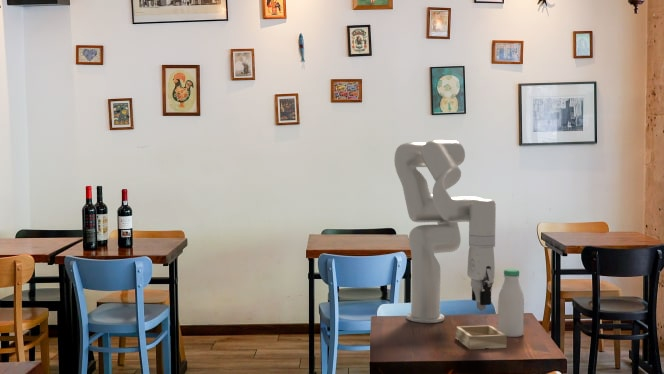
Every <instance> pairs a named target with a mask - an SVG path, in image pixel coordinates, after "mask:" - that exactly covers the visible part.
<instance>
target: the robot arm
mask: <svg viewBox="0 0 664 374" xmlns="http://www.w3.org/2000/svg"><path fill="white" fill-rule="evenodd" d="M465 158H466V152H465V148H464V147H463V145H462V144H461V142H459V141H457V140H453V139H452V140H450V139H449V140H448V139H447V140H445V139H435V140H433V139H432V140H429V141H426V142H425V141H424V142H423V141H416V142H415V141H414V142H405V143H402V144H400V145H398V146H397V148H396V150H395V152H394V167H395V171H396V172H395V173H396V174H397V177H398V179H399V181H400V183H401V186H402V191H403V194H404V199H405V204H406V205H405V206H406V209H407V213H408V218H409V219H410V220H411V221H412V222H414V223H437V224H421V225H417V226H414V227H413V228H412V229H411V230H410V232H409V235H408V243H409V248H410V254H411V255H410V256H411V300H410V301H411V306H410V307H411V309H410V310H411V311H410V312H408V313H407V314H406V319H407V320H408V321H411V322H414V323H421V324H433V323H434V324H436V323H441V322H444V320H445V315H444V314H442V313H441V264H440V262H439V261H438V259H437V258H436V255H435V254H441V253H452V252H455V251H457V250H458V249H459V248H460V245H461V241H462V240H461V233H460V228H459V227H460V226H459V223H461V222H463V223H469V224H468V246H469V249H468V257H467V269H466V270H467V272H466V273H467V276H468V278H470V279H471V280H472V279H474V280H476V281H480V282H481V291H480V305H486V306H490V305H492V291H493V286H494V285H493V284H494V283H495V281H494V280H495V270H496V269H495V268H496V267H495V252H494V248H495V247H496V208H497V207H496V201H495V200H493V199H491V198H482V197H479V196H450V194H449V193H448V189H450V188H451V187H454V186H455V185H456V184H457V183H458V182H459V181H460V179H461V177H462V171H461V169H460V168H459V166H460V165H462V163H463V162H464V161H465ZM417 168H427V169H428V171H429V173H430V174H431V176H432V178H433V180H434V185H433V187H432V193H431V192H430V188H429V185H428V182H427V179H426V178H425V176H424V175H423V174H422V173H421V172H420V171H419V169H417ZM486 278H487V280H483V279H486ZM471 280H470V281H471ZM484 283H486V284H485V286H484ZM471 300H472V301H473V302H477V301H476V297H475V293H474V291H473V289H472V288H471Z"/></svg>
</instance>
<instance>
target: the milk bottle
mask: <svg viewBox="0 0 664 374" xmlns="http://www.w3.org/2000/svg"><path fill="white" fill-rule="evenodd" d="M503 277H504V280H503V283H502V286H501V288H500V291H499V293H498V301H497V302H498V303H497V305H498V306H497V330H499V331H500V332H502V333H504V334H505V335H507V338H508V337H509V338H510V337H511V338H517V337H521V336H523V335H524V321H525V319H524V317H525V313H524V312H525V302H524V301H525V299H524V298H525V296H524V293H523V290H522V288H521V285H520V282H519V281H520V280H519V278H520V270H518V269H514V268H513V269H512V268H507V269H504V270H503Z"/></svg>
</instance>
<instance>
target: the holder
mask: <svg viewBox="0 0 664 374" xmlns="http://www.w3.org/2000/svg"><path fill="white" fill-rule="evenodd" d="M507 338H508V336H507V335H505V334H504V333H502V332H500V331H499V330H498V328H496V327H494V326H493V325H491V324H490V325H489V324H487V325H486V324H485V325H484V324H483V325H463V326H455V339H456V340H457V341H458V340H459V342H460V343H461V344H462V345H464V347H466V348H467V349H469V350H483V349H484V350H485V348H489V349H505V348H507Z"/></svg>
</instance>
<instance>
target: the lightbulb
mask: <svg viewBox="0 0 664 374" xmlns="http://www.w3.org/2000/svg"><path fill="white" fill-rule="evenodd" d="M483 280H487V278H486V279H483ZM485 284H486V283H484V286H485ZM470 286H471V290H472V289H473V291H474V293H475V297H476V301H475V302H476V309H478V311H484V310H485V309H486V307H487V305H480V291H481V282H480V281H476V280H474V279H472V280H470Z"/></svg>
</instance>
